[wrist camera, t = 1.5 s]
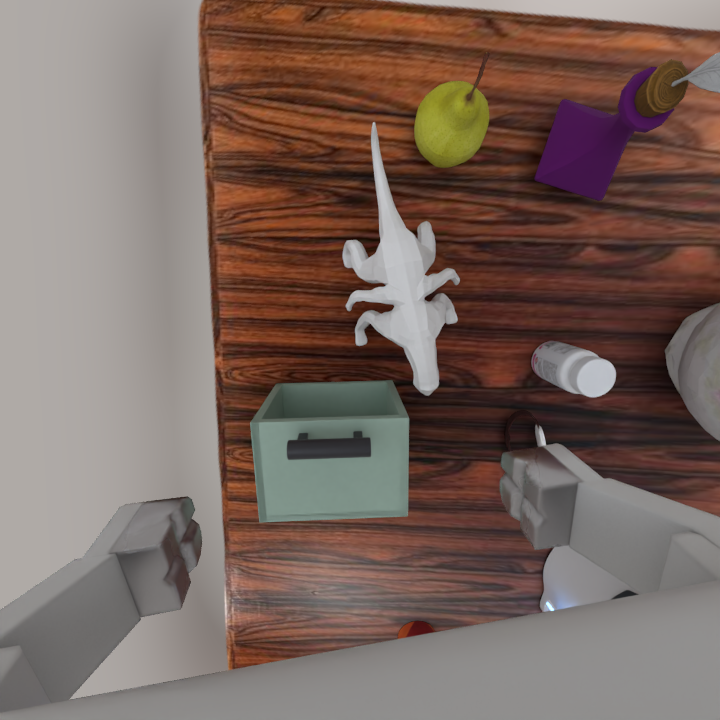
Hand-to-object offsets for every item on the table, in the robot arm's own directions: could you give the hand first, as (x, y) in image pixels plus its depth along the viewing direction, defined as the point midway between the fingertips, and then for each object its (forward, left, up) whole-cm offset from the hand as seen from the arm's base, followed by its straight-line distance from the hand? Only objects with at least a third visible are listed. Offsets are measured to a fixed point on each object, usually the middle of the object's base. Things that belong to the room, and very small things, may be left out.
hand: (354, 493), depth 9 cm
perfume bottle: (-5, -29, -34) cm, 45 cm away
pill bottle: (-21, -14, -34) cm, 42 cm away
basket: (-7, +10, -33) cm, 35 cm away
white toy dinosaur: (0, -8, -34) cm, 34 cm away
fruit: (+6, -21, -34) cm, 40 cm away
